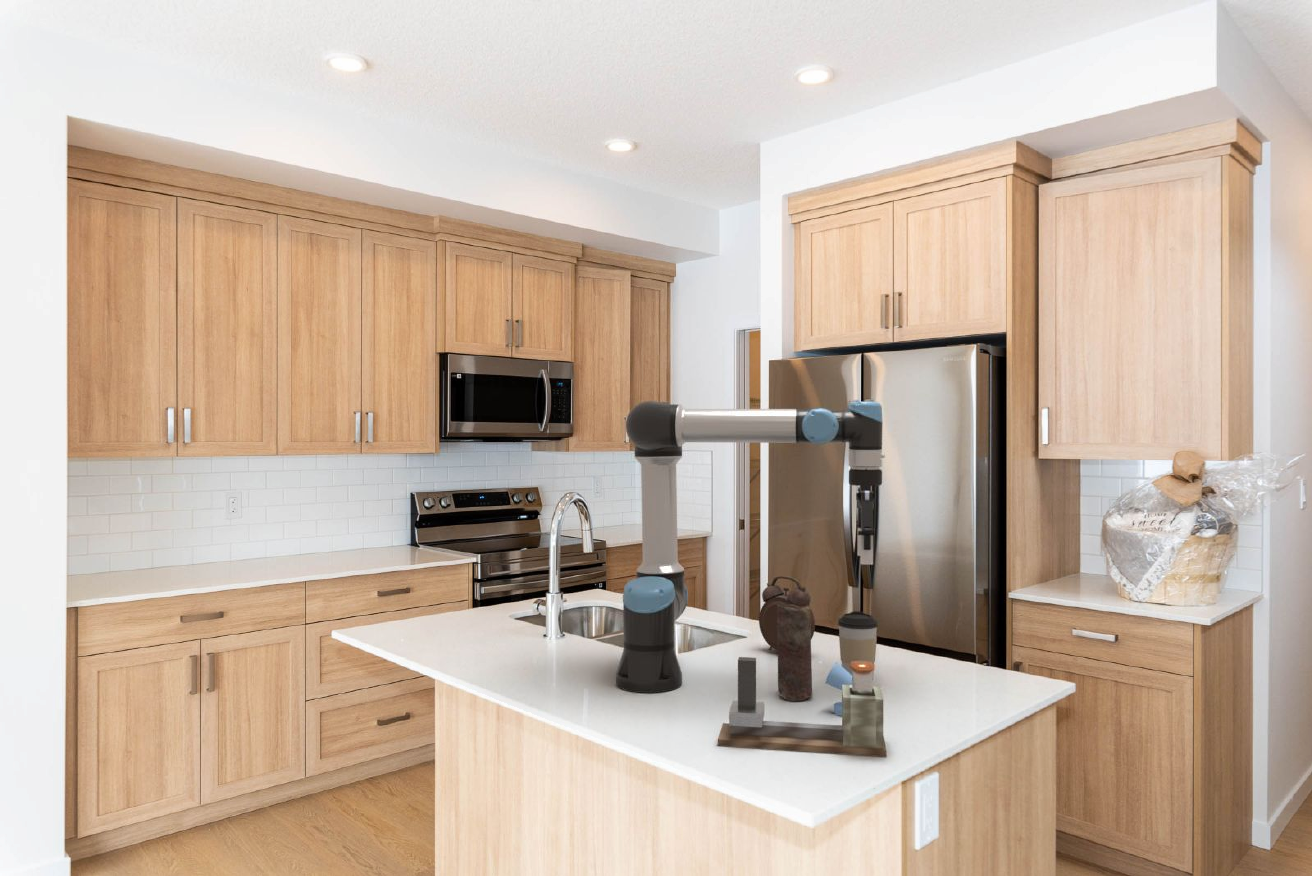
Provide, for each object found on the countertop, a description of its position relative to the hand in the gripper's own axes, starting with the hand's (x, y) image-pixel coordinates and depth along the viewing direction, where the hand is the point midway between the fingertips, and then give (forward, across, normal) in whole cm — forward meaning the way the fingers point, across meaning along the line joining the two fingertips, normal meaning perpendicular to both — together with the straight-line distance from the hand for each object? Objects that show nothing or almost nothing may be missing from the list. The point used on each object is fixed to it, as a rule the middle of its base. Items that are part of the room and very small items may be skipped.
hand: (864, 560), depth 203 cm
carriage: (+24, -44, +24) cm, 56 cm away
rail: (+28, -44, +14) cm, 54 cm away
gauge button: (+20, -44, +3) cm, 49 cm away
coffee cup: (+28, +1, +2) cm, 28 cm away
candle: (+28, -16, +16) cm, 36 cm away
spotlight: (+28, -25, +6) cm, 38 cm away
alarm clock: (+28, +21, +18) cm, 39 cm away
